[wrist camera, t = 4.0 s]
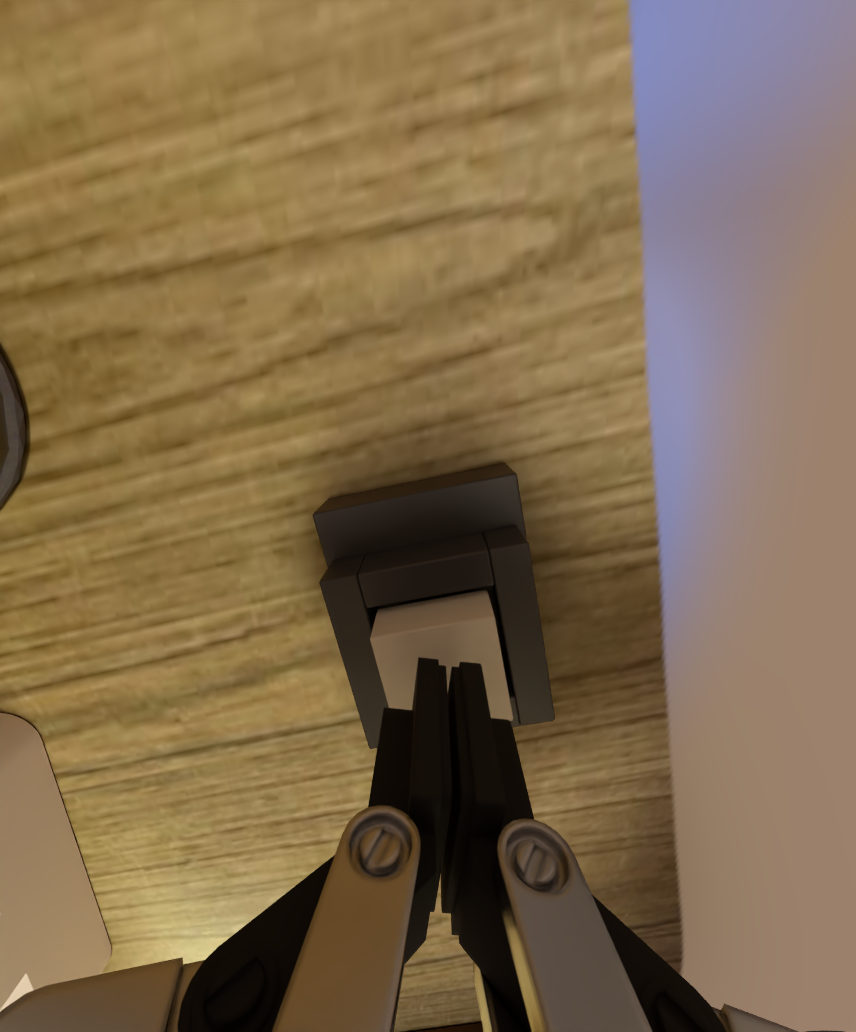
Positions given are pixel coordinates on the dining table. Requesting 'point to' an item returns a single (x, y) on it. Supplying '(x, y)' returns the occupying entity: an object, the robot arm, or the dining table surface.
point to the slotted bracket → (41, 876)
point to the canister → (10, 432)
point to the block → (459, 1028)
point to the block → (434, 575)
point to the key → (439, 646)
